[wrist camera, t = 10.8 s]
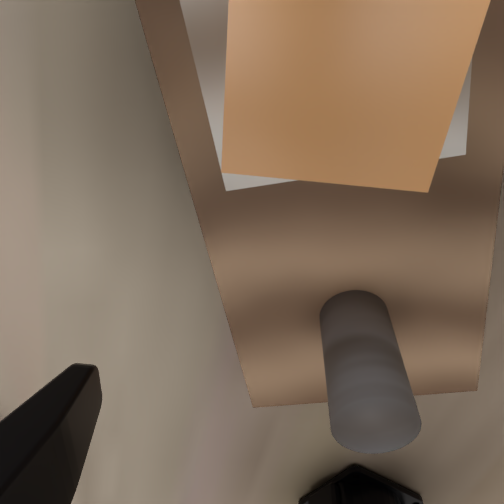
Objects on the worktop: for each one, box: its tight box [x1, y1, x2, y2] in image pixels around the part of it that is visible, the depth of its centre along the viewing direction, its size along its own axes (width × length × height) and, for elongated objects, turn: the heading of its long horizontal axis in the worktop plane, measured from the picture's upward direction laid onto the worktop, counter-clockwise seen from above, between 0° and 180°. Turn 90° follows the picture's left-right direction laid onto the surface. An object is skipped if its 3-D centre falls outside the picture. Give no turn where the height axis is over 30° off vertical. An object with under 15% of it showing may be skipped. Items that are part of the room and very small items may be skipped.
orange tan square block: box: [221, 0, 491, 193], centre depth 13 cm, size 6×6×4 cm
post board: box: [135, 0, 504, 454], centre depth 16 cm, size 24×12×8 cm, turn 11°
